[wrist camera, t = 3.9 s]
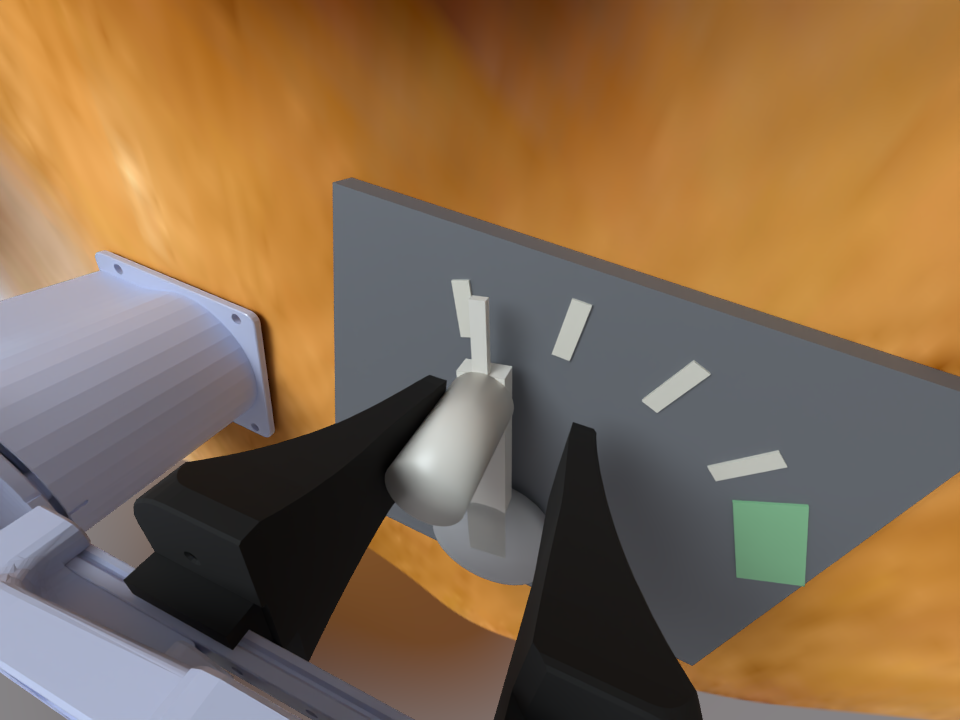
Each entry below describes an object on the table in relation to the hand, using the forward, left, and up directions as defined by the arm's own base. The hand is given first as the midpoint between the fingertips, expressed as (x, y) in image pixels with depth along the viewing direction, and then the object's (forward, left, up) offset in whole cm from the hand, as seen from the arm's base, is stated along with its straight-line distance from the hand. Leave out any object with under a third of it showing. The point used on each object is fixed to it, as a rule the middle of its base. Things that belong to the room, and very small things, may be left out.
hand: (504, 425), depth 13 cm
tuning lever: (0, -3, -2) cm, 4 cm away
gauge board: (+2, -3, -3) cm, 5 cm away
